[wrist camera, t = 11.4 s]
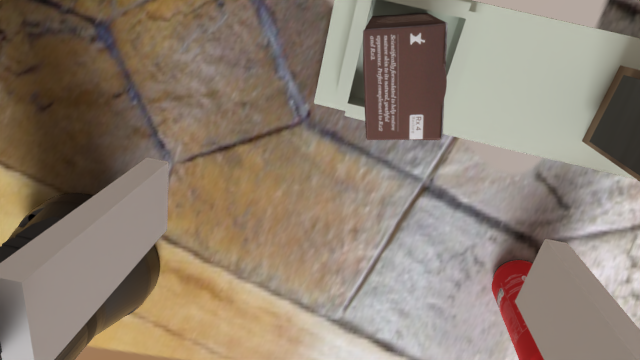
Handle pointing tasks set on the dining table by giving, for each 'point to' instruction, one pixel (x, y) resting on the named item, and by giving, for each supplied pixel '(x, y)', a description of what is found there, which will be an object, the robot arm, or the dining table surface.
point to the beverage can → (514, 306)
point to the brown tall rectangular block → (619, 123)
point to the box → (404, 76)
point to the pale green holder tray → (495, 74)
